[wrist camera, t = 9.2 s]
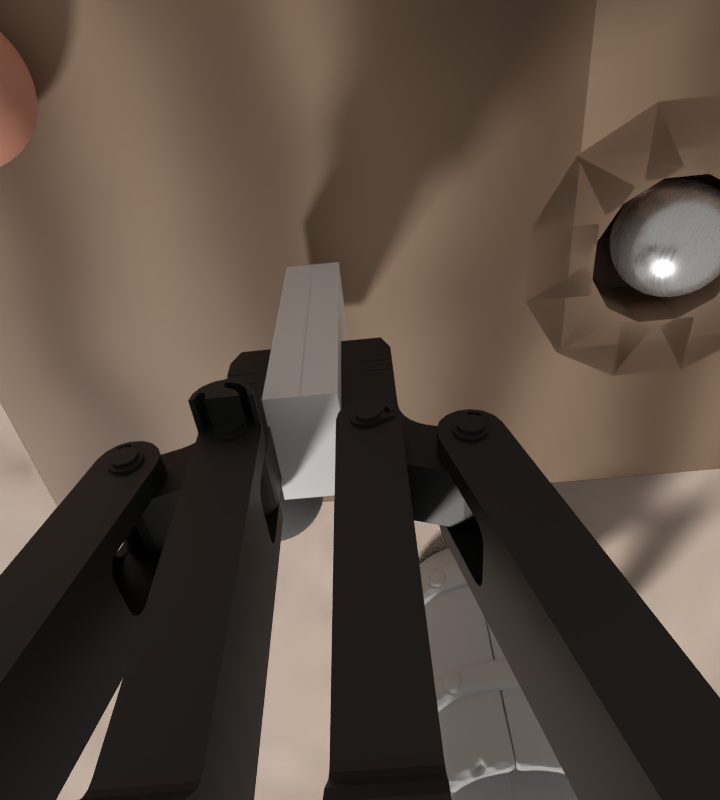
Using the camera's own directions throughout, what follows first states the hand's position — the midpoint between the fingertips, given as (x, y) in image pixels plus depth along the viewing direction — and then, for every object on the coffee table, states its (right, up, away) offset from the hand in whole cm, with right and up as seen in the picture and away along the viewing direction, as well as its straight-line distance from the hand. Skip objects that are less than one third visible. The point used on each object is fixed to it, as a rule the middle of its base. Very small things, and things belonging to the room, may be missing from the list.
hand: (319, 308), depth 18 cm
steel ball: (+11, +2, +1) cm, 11 cm away
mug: (+8, -13, +14) cm, 21 cm away
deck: (+3, +2, +3) cm, 5 cm away
